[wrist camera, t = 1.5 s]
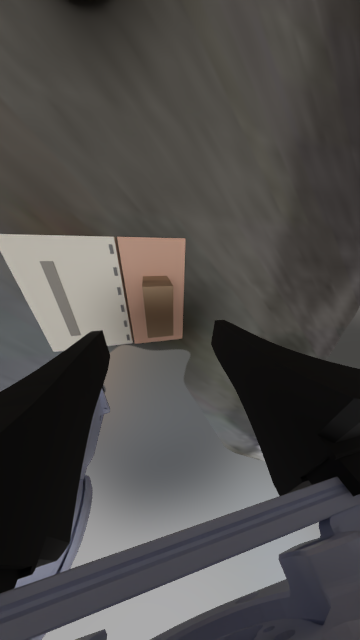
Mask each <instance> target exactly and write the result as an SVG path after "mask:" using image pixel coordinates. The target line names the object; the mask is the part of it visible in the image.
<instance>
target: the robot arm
mask: <svg viewBox="0 0 360 640" xmlns="http://www.w3.org/2000/svg"><path fill="white" fill-rule="evenodd" d="M211 345H212V347H213V350H214V352H215V355H216V357H217V359H218V360H219V362H220V364H221V366H222V367H223V369H224V371H225V372H226V374H227V376H228V377H229V379H230V381H231V382H232V384H233V386H234V388H235V390H236V392H237V394H238V396H239V398H240V400H241V402H242V405H243V407H244V409H245V411H246V414H247V416H248V418H249V421H250V423H251V425H252V428H253V430H254V433H255V435H256V438H257V440H258V443H259V445H260V448H261V451H262V453H263V456H264V459H265V462H266V464H267V467H268V470H269V473H270V475H271V478H272V481H273V483H274V486H275V487H276V489H277V491H278V493H279V495H280V496H279V497H277V498H274V499H271V500H268V501H265V502H262V503H259V504H256V505H253V506H251V507H248V508H245V509H242V510H239V511H236V512H233V513H231V514H227V515H225V516H222V517H219V518H216V519H213V520H211V521H207V522H205V523H202V524H199V525H196V526H193V527H190V528H187V529H184V530H181V531H179V532H176V533H173V534H170V535H167V536H164V537H161V538H158V539H156V540H153V541H150V542H147V543H144V544H141V545H138V546H135V547H133V548H130V549H127V550H125V551H121V552H119V553H115V554H112V555H110V556H107V557H104V558H101V559H98V560H95V561H92V562H89V563H87V564H84V565H81V566H78V567H75V568H72V569H70V568H71V565H72V563H73V561H74V558H75V556H76V554H77V552H78V549H79V547H80V544H81V541H82V539H83V536H84V532H85V529H86V525H87V521H88V518H89V513H90V508H91V502H92V485H91V480H90V477H89V476H87V475H85V473H86V469H87V466H88V465H89V463H90V462H91V460H92V458H93V455H94V453H95V449H96V445H97V441H98V436H99V432H100V428H101V424H102V419H103V415H104V414H105V413H109V412H110V407H109V405H108V402H107V399H106V397H105V394H104V391H103V388H102V386H103V383H104V380H105V376H106V374H107V370H108V365H109V359H110V354H109V351H108V347H107V344H106V341H105V337H104V334H103V330H100V331H91V332H89V333H88V334H86V335H85V336H84V337H82V338H81V339H80V340H78V341H77V342H76V343H74V344H73V345H72V346H70V347H69V348H68V349H66V350H65V351H63V352H62V353H61V354H59V355H58V356H56V357H55V358H54V359H52V360H51V361H49V362H48V363H46V364H45V365H43V366H42V367H40V368H39V369H37V370H36V371H34V372H33V373H31V374H30V375H28V376H26V377H25V378H23V379H22V380H20V381H18V382H17V383H15V384H13V385H12V386H10V387H8V388H6V389H5V390H3V391H1V392H0V640H42V638H43V637H44V635H45V634H46V633H47V632H50V631H52V630H54V629H57V628H59V627H62V626H64V625H66V624H69V623H72V622H74V621H76V620H79V619H81V618H84V617H86V616H89V615H91V614H94V613H96V612H99V611H101V610H104V609H106V608H108V607H111V606H113V605H116V604H118V603H121V602H123V601H126V600H128V599H131V598H133V597H135V596H138V595H140V594H143V593H145V592H148V591H150V590H153V589H155V588H158V587H160V586H162V585H165V584H167V583H170V582H172V581H175V580H177V579H180V578H182V577H185V576H187V575H189V574H192V573H194V572H197V571H199V570H202V569H204V568H207V567H209V566H212V565H214V564H217V563H219V562H221V561H224V560H226V559H229V558H231V557H234V556H236V555H239V554H241V553H244V552H246V551H248V550H251V549H253V548H255V547H258V546H261V545H263V544H265V543H268V542H271V541H273V540H275V539H278V538H280V537H283V536H285V535H288V534H290V533H293V532H295V531H297V530H300V529H302V528H305V527H307V526H310V525H312V524H314V523H317V522H319V529H320V534H321V536H320V538H318V539H314V540H311V541H308V542H304V543H302V544H299V545H297V546H294V547H292V548H290V549H289V550H287V551H285V552H283V553H281V554H279V561H280V564H281V566H282V568H283V571H284V573H285V576H286V578H287V579H286V580H283V581H281V582H278V583H276V584H273V585H270V586H268V587H265V588H263V589H261V590H258V591H256V592H253V593H251V594H248V595H245V596H243V597H240V598H238V599H235V600H233V601H230V602H228V603H225V604H223V605H220V606H218V607H216V608H214V609H211V610H209V611H207V612H205V613H202V614H200V615H198V616H196V617H194V618H191V619H189V620H187V621H185V622H183V623H181V624H179V625H177V626H175V627H173V628H171V629H169V630H167V631H166V632H164V633H162V634H160V635H158V636H156V637H154V638H152V639H151V640H360V369H357V368H352V367H348V366H344V365H340V364H336V363H332V362H328V361H325V360H321V359H318V358H314V357H311V356H308V355H305V354H301V353H298V352H295V351H292V350H290V349H287V348H284V347H282V346H279V345H276V344H274V343H272V342H269V341H267V340H265V339H262V338H260V337H258V336H256V335H254V334H252V333H250V332H248V331H246V330H244V329H242V328H240V327H238V326H236V325H234V324H232V323H230V322H227V321H225V320H216V321H215V324H214V330H213V336H212V342H211ZM106 639H107V633H106V631H105V629H104V630H101V631H98V632H96V633H93V634H90V635H87V636H84V637H81V638H78V639H76V640H106Z"/></svg>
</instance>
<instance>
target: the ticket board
mask: <svg viewBox="0 0 360 640" xmlns="http://www.w3.org/2000/svg"><path fill="white" fill-rule="evenodd" d="M0 251H1V253H2V255H3V257H4V259H5V261H6V263H7V264H8V266H9V268H10V270H11V272H12V274H13V276H14V278H15V280H16V281H17V283H18V285H19V287H20V289H21V291H22V293H23V295H24V297H25V299H26V300H27V302H28V304H29V306H30V308H31V310H32V312H33V314H34V316H35V318H36V319H37V321H38V323H39V325H40V327H41V329H42V331H43V333H44V335H45V336H46V338H47V340H48V342H49V344H50V346H51V348H52V350H53V352H57V351H65V350H66V349H68V348H69V347H70V346H72V345H73V344H74V343H76V342H77V341H78V340H80V339H81V338H82V337H84V336H85V335H86V334H88V333H89V332H91V331H100V330H103V334H104V337H105V341H106V344H107V346H111V345H120V344H129V343H133V331H132V325H131V319H130V313H129V307H128V301H127V295H126V289H125V284H124V278H123V272H122V266H121V260H120V254H119V248H118V242H117V237H100V236H58V235H15V234H0Z"/></svg>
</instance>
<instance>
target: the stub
mask: <svg viewBox="0 0 360 640" xmlns="http://www.w3.org/2000/svg"><path fill="white" fill-rule="evenodd" d="M117 240H118V246H119V252H120V258H121V264H122V270H123V276H124V282H125V288H126V294H127V300H128V306H129V312H130V318H131V323H132V329H133V335H134V341H135V344H138V343H147V342H156V341H165V340H174V339H182V333H183V301H184V268H185V238H144V237H117Z"/></svg>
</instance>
